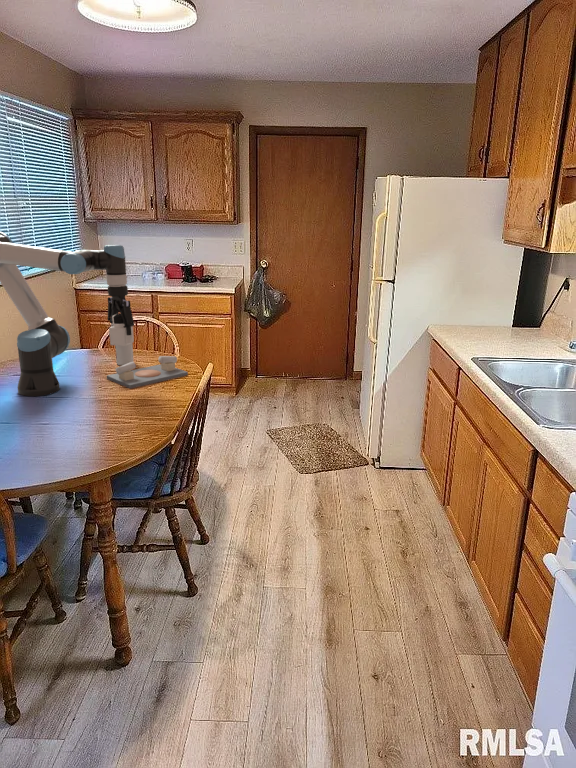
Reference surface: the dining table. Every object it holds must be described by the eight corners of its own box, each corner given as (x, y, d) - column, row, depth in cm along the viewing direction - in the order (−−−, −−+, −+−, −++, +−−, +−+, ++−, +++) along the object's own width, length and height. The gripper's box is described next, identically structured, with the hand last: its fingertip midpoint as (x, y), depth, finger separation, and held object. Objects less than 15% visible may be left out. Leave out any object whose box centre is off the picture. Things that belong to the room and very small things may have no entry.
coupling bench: (129, 388, 225) (128, 369, 222) (106, 378, 236) (105, 360, 234) (188, 375, 245) (187, 357, 243) (164, 366, 257) (163, 349, 254)
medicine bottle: (134, 342, 228) (131, 313, 224) (127, 346, 221) (124, 316, 218) (117, 341, 229) (115, 312, 225) (110, 345, 222) (107, 315, 219)
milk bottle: (137, 363, 261) (134, 321, 255) (124, 366, 254) (121, 323, 248) (125, 360, 265) (123, 319, 259) (112, 364, 258) (110, 321, 252)
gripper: (140, 287, 213) (144, 344, 220) (112, 281, 228) (117, 335, 235) (122, 289, 208) (127, 347, 215) (95, 283, 223) (100, 337, 230)
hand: (122, 340), depth 225 cm, fingers closed on medicine bottle, 10 cm apart
